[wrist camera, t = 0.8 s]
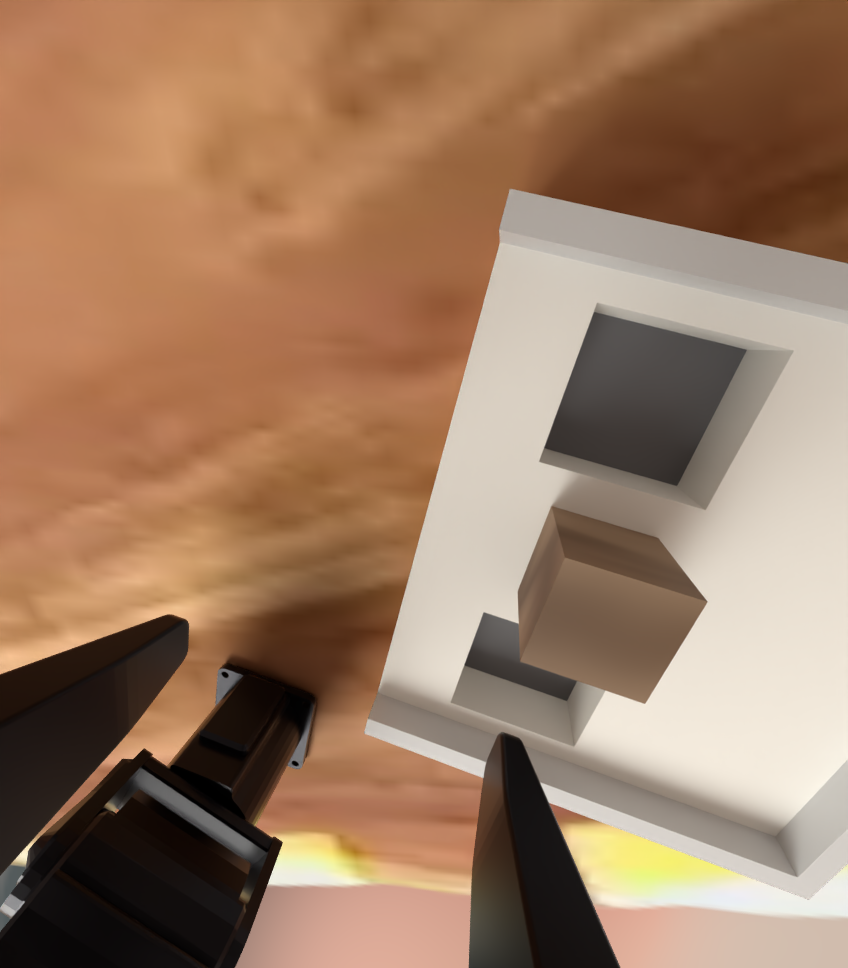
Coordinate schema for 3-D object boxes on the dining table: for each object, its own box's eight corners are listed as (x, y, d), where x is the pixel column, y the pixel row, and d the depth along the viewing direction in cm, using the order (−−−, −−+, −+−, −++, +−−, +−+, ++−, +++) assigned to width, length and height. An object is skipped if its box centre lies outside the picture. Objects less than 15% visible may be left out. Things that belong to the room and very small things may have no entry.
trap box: (749, 790, 21) (808, 899, 17) (390, 663, 23) (363, 733, 19) (1102, 368, 13) (1374, 380, 9) (509, 231, 15) (509, 188, 11)
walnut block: (614, 622, 16) (645, 703, 13) (517, 590, 17) (519, 661, 13) (658, 538, 15) (708, 601, 11) (551, 505, 15) (564, 557, 12)
